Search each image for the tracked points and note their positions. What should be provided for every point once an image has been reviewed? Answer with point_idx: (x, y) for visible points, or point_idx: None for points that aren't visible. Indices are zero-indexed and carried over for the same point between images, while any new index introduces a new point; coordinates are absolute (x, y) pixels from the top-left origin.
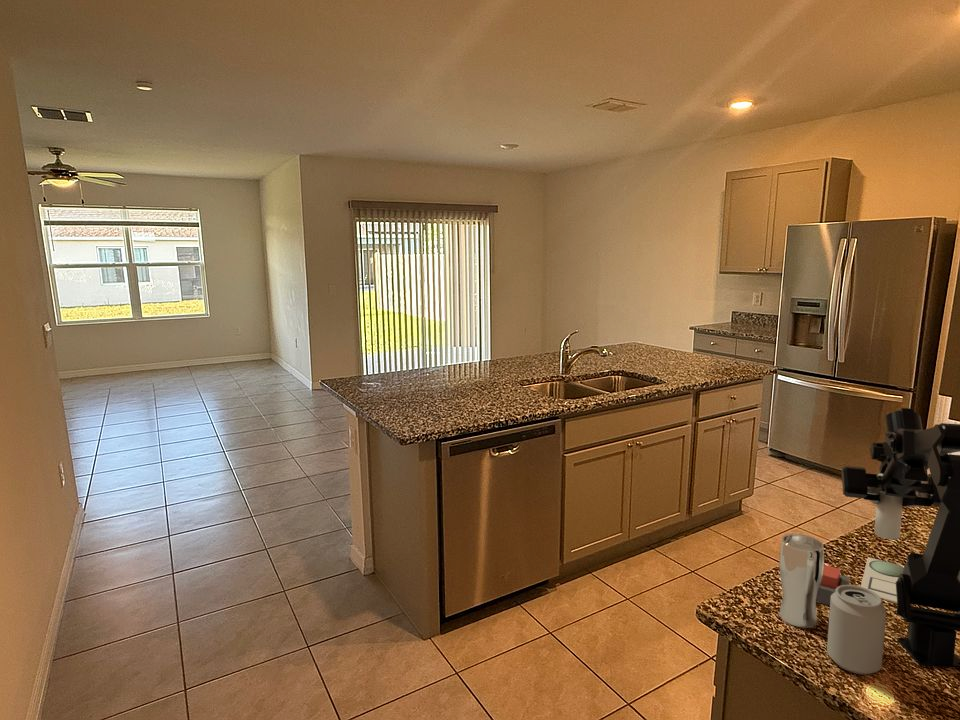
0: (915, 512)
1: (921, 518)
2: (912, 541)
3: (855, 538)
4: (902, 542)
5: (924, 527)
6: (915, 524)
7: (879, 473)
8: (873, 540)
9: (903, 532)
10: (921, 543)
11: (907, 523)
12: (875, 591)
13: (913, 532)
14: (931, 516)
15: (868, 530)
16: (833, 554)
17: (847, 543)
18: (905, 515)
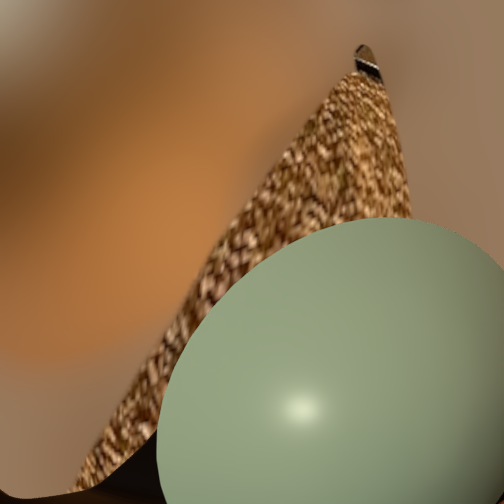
0: (344, 98)
1: (355, 114)
2: (350, 213)
3: (228, 249)
4: (331, 226)
5: (364, 143)
6: (349, 136)
7: (196, 330)
8: (269, 243)
9: (332, 175)
10: (366, 216)
11: (337, 135)
12: None
13: (349, 169)
14: (367, 105)
15: (263, 191)
16: (163, 372)
17: (204, 289)
18: (331, 109)
